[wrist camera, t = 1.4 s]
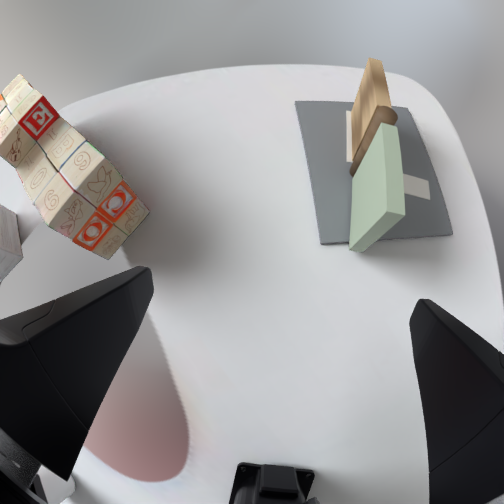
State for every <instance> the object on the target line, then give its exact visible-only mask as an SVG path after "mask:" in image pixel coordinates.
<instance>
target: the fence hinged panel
mask: <svg viewBox="0 0 504 504" xmlns="http://www.w3.org/2000/svg"><path fill="white" fill-rule="evenodd" d="M404 216H405V198H404V183H403V170H402V160H401V151H400V143H399V136H398V129H397V127H396V126H392V125H389V124H385V123H382V122H381V124H380V126H379V128H378V130H377V132H376V134H375V136H374V138H373V140H372V142H371V144H370V146H369V148H368V150H367V152H366V154H365V156H364V158H363V160H362V162H361V164H360V166H359V167H358V169H357V171H356V173H355V175H354V177H353V179H352V207H351V225H350V240H349V250H351V251H356V252H364V251H365V250H366V249H367V248H368V247H370V246H371V245H372V244H373V243H374V242H375V241H377V240H378V239H379V238H380V237H381V236H382V235H384V234H385V233H386V232H387V231H388V230H389V229H390V228H392V227H393V226H394V225H395V224H396V223H397V222H398V221H399V220H401V219H402V218H403V217H404Z"/></svg>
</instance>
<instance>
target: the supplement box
mask: <svg viewBox="0 0 504 504" xmlns="http://www.w3.org/2000/svg"><path fill="white" fill-rule="evenodd" d="M22 258H23V254H22V249H21V243H20V237H19V231H18V225H17V218H16V214H15V213H14V212H13V211H11V210H9V209H7V208H6V207H4V206H2V205H0V282H1V281H2V280H3V279H4V278H5V277H6V276H7V275H8V273H9V272H10V271H11V270H12V269H13V268H14V267H15V266H16V265H17V264H18V263H19V262H20V261H21V260H22Z"/></svg>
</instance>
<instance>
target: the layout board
mask: <svg viewBox="0 0 504 504" xmlns="http://www.w3.org/2000/svg"><path fill="white" fill-rule="evenodd" d="M353 105H354V102H335V101H295V107H296V111H297V115H298V120H299V124H300V129H301V134H302V139H303V143H304V148H305V153H306V158H307V164H308V169H309V174H310V180H311V186H312V191H313V197H314V203H315V210H316V216H317V223H318V229H319V236H320V244H333V243H347V242H349V240H350V225H351V207H352V179H353V177H352V176H351V175H350V172H349V170H350V167H351V165H352V163H353V161H352V129H351V111H352V108H353ZM391 107H392V109H393V110H394V111H395V112H396V113H397V115H398V120H397V121H396V123H395V125H394V126H396V127H397V129H398V136H399V143H400V151H401V160H402V170H403V183H404V198H405V216H404V217H403V218H402V219H401V220H399V221H398V222H397V223H396V224H395V225H394V226H393V227H392V228H390V229H389V230H388V231H387V232H386V233H385V234H384V235H382V236H381V237H380V238H379V239H378V240H388V239H402V238H416V237H430V236H444V235H452V234H453V231H452V227H451V223H450V220H449V216H448V212H447V209H446V205H445V202H444V199H443V195H442V192H441V189H440V186H439V183H438V180H437V177H436V174H435V171H434V169H433V166H432V163H431V161H430V158H429V155H428V153H427V150H426V148H425V145H424V143H423V141H422V138H421V136H420V134H419V131H418V129H417V127H416V125H415V123H414V121H413V118H412V116H411V114H410V112H409V110H408V108H403V107H396V106H391Z"/></svg>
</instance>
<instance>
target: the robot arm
mask: <svg viewBox="0 0 504 504" xmlns="http://www.w3.org/2000/svg"><path fill="white" fill-rule="evenodd" d="M153 293H154V286H153V280H152V273H151V270H150V268H148V267H143V266H137V267H135V268H132V269H130V270H127V271H124V272H122V273H119V274H117V275H114V276H112V277H109V278H107V279H104V280H102V281H99V282H96V283H94V284H92V285H89V286H87V287H84V288H81V289H79V290H76V291H74V292H72V293H69V294H67V295H64V296H62V297H60V298H57V299H56V300H52V301H50V302H48V303H45V304H42V305H40V306H37V307H35V308H32V309H29V310H27V311H24V312H21V313H18V314H16V315H13V316H10V317H7V318H4V319H1V320H0V504H48V501H47V498H46V495H45V492H44V489H43V486H42V483H41V479H40V476H39V475H38V474H37V473H38V471H39V469H40V467H41V465H42V466H44V467H45V468H46V469H48V470H49V471H51V472H52V473H54V474H55V475H57V476H58V477H60V478H62V479H63V480H65V481H66V482H67V481H68V480H69V478H70V475H71V473H72V470H73V468H74V465H75V463H76V460H77V458H78V455H79V453H80V450H81V448H82V446H83V443H84V441H85V439H86V437H87V434H88V430H89V429H90V427H91V425H92V423H93V420H94V418H95V416H96V414H97V411H98V409H99V407H100V405H101V403H102V401H103V399H104V397H105V395H106V393H107V390H108V388H109V386H110V384H111V382H112V380H113V378H114V376H115V374H116V372H117V370H118V368H119V366H120V364H121V362H122V360H123V358H124V356H125V355H126V353H127V351H128V349H129V347H130V345H131V343H132V341H133V339H134V338H135V336H136V334H137V332H138V330H139V327H140V325H141V323H142V320H143V318H144V315H145V313H146V310H147V308H148V306H149V303H150V301H151V298H152V296H153ZM409 325H410V332H411V339H412V347H413V356H414V363H415V368H416V373H417V378H418V384H419V389H420V395H421V401H422V407H423V414H424V422H425V430H426V439H427V449H428V463H429V472H430V473H429V504H504V354H502V353H501V352H500V351H499V352H498V350H497V349H496V348H495V347H493V346H492V345H491V344H490V343H488V342H487V341H486V340H484V339H483V338H482V337H481V336H479V335H478V334H477V333H475V332H474V331H473V330H471V329H470V328H469V327H467V326H466V325H465V324H463V323H462V322H461V321H459V320H458V319H457V318H455V317H454V316H453V315H451V314H450V313H448V312H447V311H446V310H444V309H443V308H441V307H440V306H439V305H437V304H436V303H434V302H433V301H432V300H430V299H419V300H418V301H417V304H416V306H415V308H414V311H413V313H412V315H411V318H410V322H409ZM241 467H245V468H246V469H241ZM307 474H311V475H310V476H306V475H307ZM314 477H315V474H314V472H313V471H312V470H306V469H294V468H293V467H285V466H276V465H267V464H264V465H257V464H250V463H244V462H242V463H239V464H238V466H237V470H236V475H235V479H234V483H233V488H232V492H231V496H230V501H229V504H320V503H319V501H318V500H317V498H316V497H314V498H311V499H309V500H308V501H307V502H306V500H307V497H308V494H309V491H310V488H311V485H312V483H313V480H314Z"/></svg>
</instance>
